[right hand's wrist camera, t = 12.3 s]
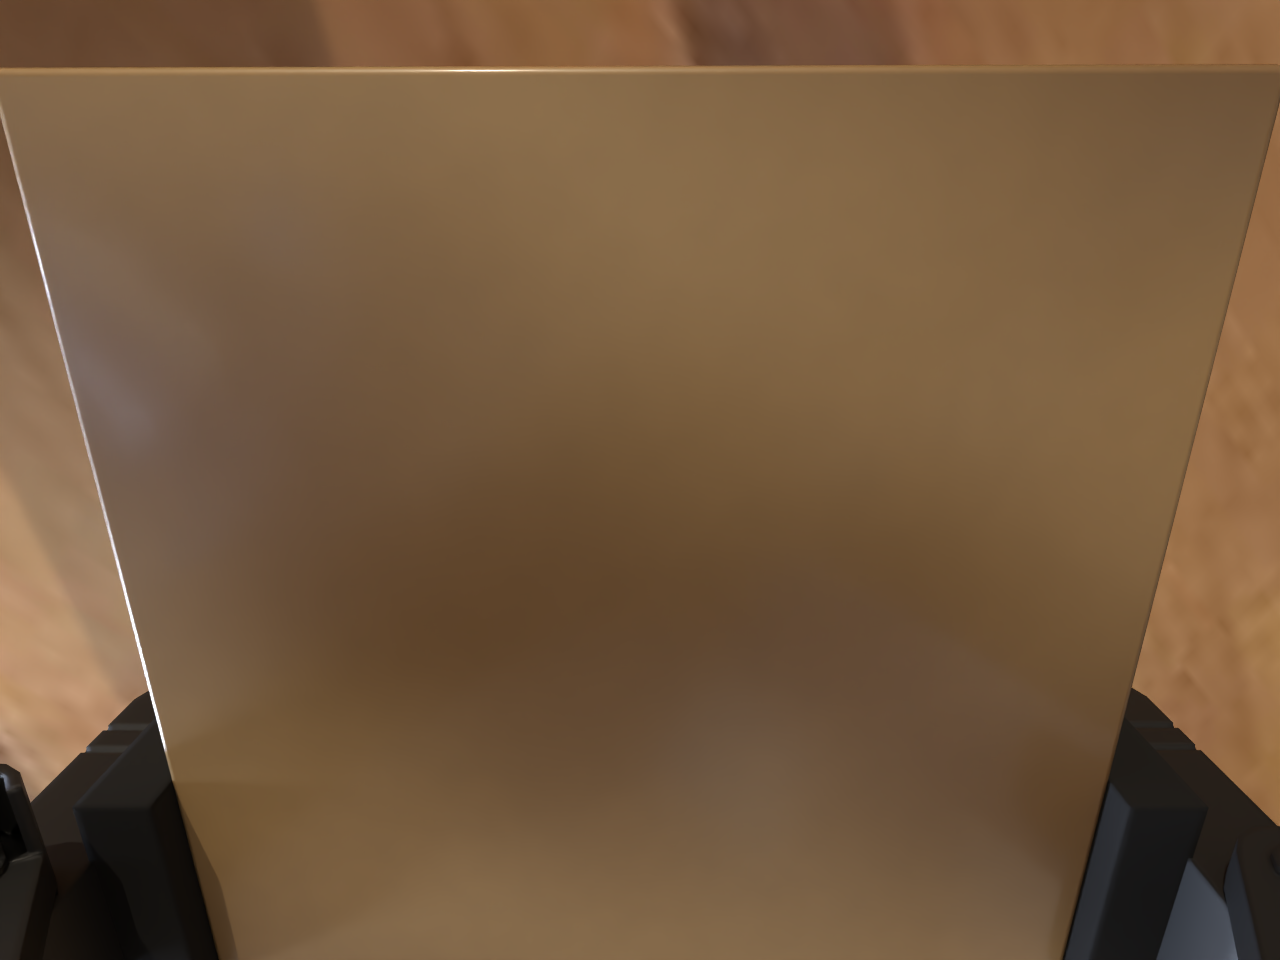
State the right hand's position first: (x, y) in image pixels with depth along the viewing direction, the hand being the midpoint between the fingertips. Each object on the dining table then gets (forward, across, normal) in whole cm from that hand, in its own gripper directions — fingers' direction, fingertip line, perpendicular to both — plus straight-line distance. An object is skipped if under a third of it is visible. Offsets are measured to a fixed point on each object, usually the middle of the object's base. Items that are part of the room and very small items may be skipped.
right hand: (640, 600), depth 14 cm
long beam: (+1, 0, -33) cm, 33 cm away
